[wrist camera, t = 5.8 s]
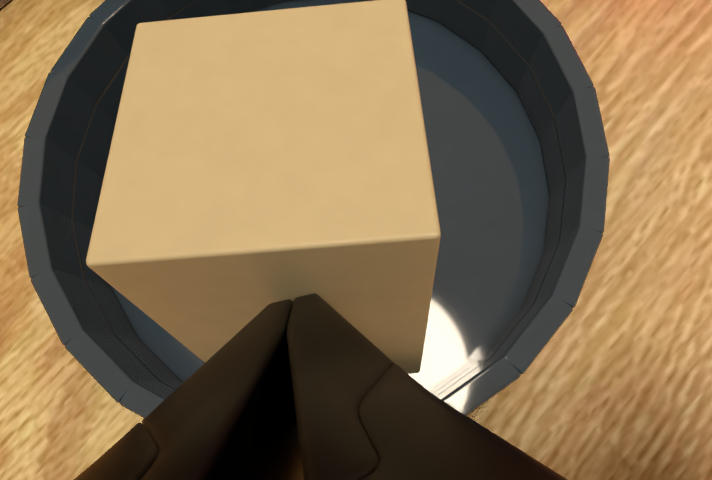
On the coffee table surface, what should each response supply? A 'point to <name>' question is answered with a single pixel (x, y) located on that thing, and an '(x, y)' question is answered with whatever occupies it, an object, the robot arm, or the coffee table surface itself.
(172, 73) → the block
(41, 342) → the coffee table surface
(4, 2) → the grey angular block
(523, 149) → the bowl
